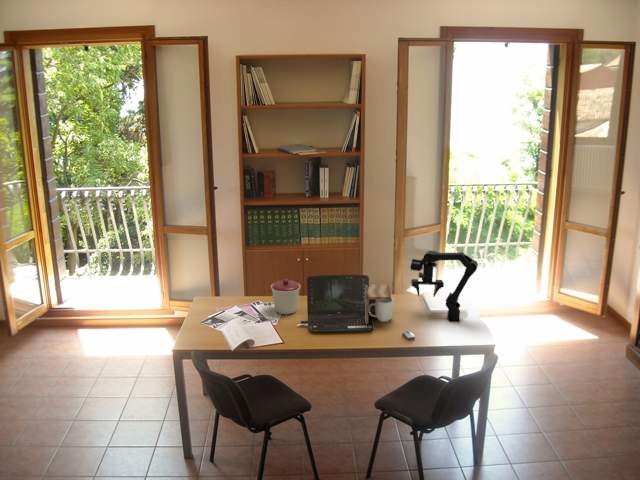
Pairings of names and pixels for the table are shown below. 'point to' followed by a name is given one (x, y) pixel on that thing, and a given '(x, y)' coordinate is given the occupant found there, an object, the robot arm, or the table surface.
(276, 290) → the canister
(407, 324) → the table surface
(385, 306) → the mug
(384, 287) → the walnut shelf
